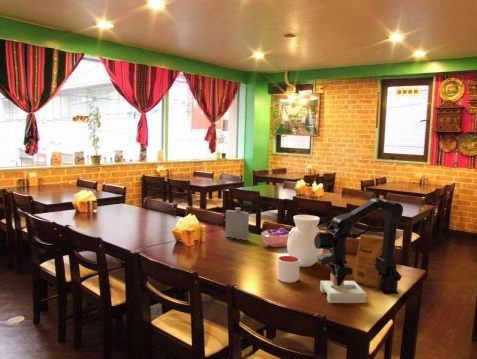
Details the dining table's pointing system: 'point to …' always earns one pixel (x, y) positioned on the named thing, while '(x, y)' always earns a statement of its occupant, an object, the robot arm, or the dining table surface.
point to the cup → (288, 269)
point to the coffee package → (368, 261)
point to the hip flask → (237, 224)
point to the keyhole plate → (343, 292)
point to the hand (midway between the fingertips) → (336, 283)
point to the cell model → (276, 237)
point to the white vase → (304, 240)
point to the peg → (335, 280)
